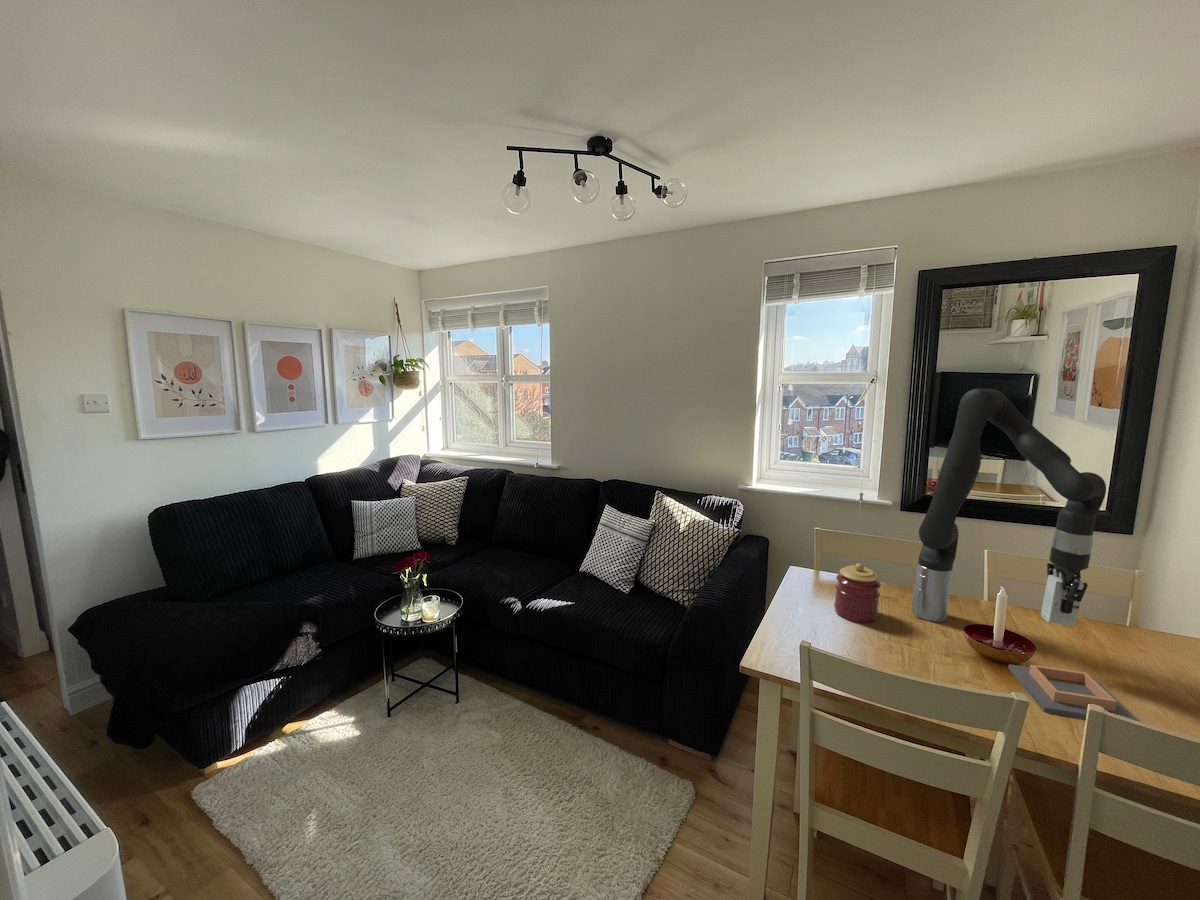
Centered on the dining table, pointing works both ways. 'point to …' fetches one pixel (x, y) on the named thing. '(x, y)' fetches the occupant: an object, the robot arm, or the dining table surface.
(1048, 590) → the skincare box
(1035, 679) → the collar stand
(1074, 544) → the robot arm
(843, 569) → the canister
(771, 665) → the dining table surface
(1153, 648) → the dining table surface
